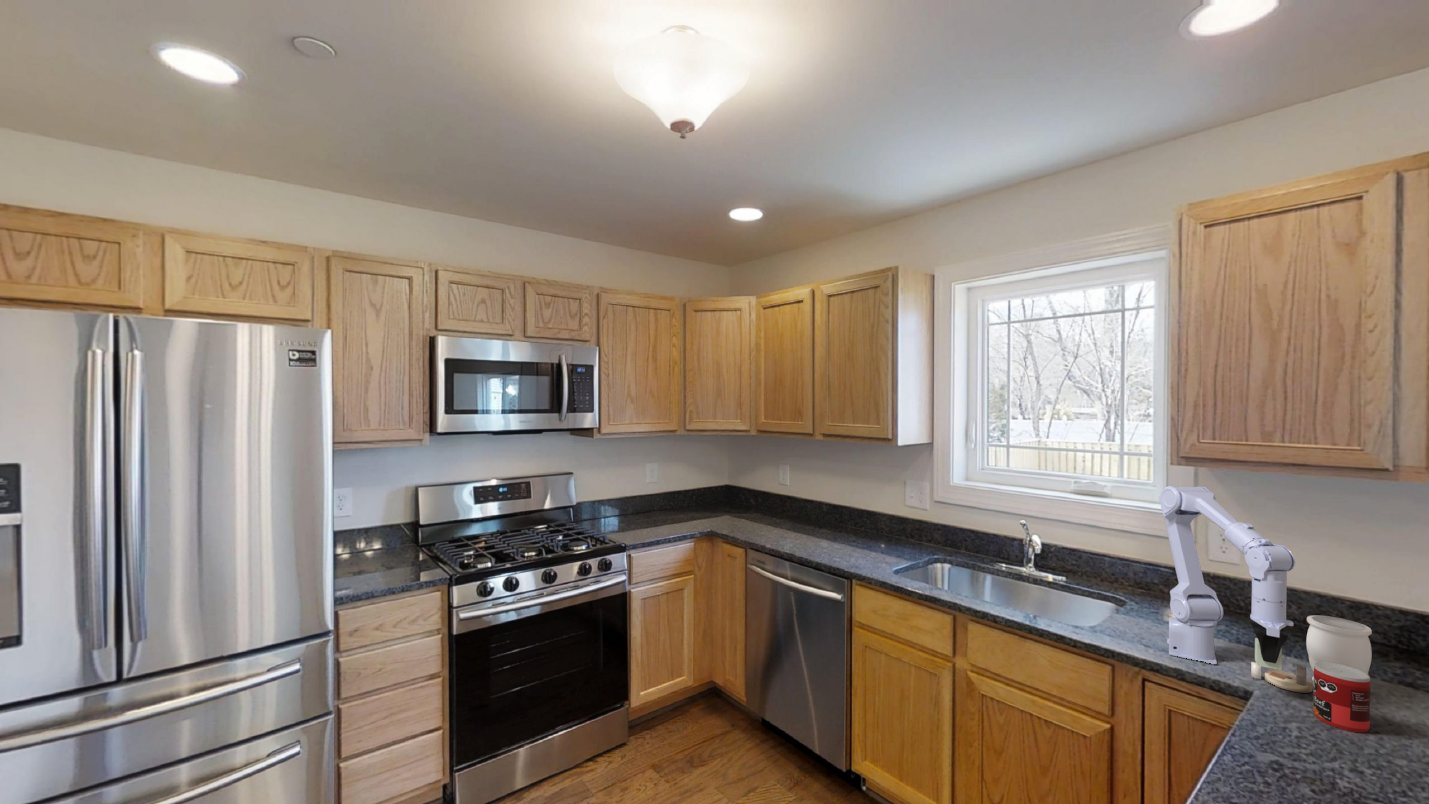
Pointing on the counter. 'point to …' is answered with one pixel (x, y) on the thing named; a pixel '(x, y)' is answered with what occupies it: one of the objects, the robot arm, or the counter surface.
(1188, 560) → the robot arm
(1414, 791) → the counter surface
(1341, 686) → the canned food
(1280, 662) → the link block
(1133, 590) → the counter surface
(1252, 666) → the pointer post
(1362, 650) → the jar
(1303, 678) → the disc
